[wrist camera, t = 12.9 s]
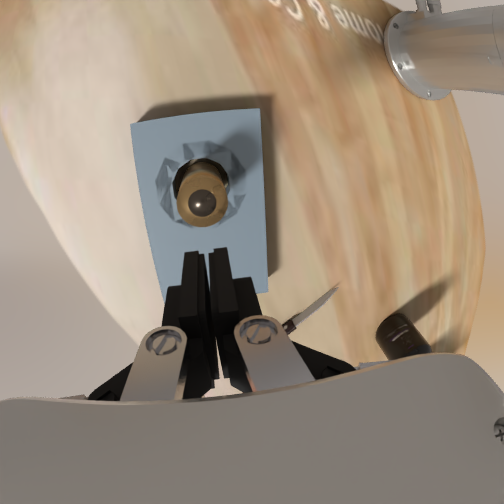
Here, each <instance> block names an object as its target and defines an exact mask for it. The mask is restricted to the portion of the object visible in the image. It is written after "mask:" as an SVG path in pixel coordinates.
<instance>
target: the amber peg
mask: <svg viewBox="0 0 504 504" xmlns="http://www.w3.org/2000/svg"><path fill="white" fill-rule="evenodd" d="M176 204H177V210H178V213H179V215H180V216H181V218H182V219H183V220H184V221H185V222H187V223H188V224H190V225H192V226H195V227H209V226H212V225H214V224H216V223H217V222H219V221H220V220H221V219H222V218H223V216H224V215H225V213H226V211H227V207H228V197H227V193H226V190H225V187H224V184H223V181H222V178H221V175H220V173H219V171H218V169H217V168H216V167H215V166H213V165H212V164H209V163H206V162H199V163H195V164H193V165H191V166H190V167H189V168H188V169H187V170H186V171H185V173H184V176H183V179H182V182H181V186H180V189H179V192H178V196H177V202H176Z"/></svg>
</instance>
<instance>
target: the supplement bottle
mask: <svg viewBox="0 0 504 504" xmlns="http://www.w3.org/2000/svg"><path fill="white" fill-rule="evenodd" d="M376 341H377V343H378V344H379V346H380V348H381V349H382V351H383V352H384V354H385V355H386V357H387V358H388V360H397V359H400V358H404V357H409V356H413V355H419V354H427V353H432V350H431V346H430V345H429V344H428V342H427V341H426V340H425V338H424V337H423V336H422V335H421V334H420V332H419V331H418V330H417V329H416V327H415V326H414V325H413V324H412V322H411V321H410V320H409V319H408V318H407V317H406V316H405V315H403V314H396V315H393V316H391V317H389V318H387V319H386V320H385V321H384V322H383V323H382V324H381V325H380V326H379V328H378V330H377V332H376Z"/></svg>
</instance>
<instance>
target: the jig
mask: <svg viewBox="0 0 504 504" xmlns="http://www.w3.org/2000/svg"><path fill="white" fill-rule="evenodd" d="M130 127H131V136H132V144H133V152H134V159H135V166H136V173H137V179H138V185H139V191H140V197H141V202H142V208H143V213H144V218H145V223H146V228H147V233H148V238H149V242H150V247H151V251H152V256H153V260H154V264H155V268H156V272H157V277H158V280H159V284H160V288H161V292H162V296H163V300H164V303H165V300H166V294H167V288H168V287H169V286H176V285H181V279H182V269H183V260H184V253H185V252H190V251H199V254H204V255H205V262H206V268H207V275H208V281H209V287H210V278H209V257H208V253H212V252H214V250H213V249H215V248H223V247H227V250H228V255H229V261H230V267H231V272H232V278H233V279H235V278H243V277H251V278H252V281H253V284H254V288H255V291H256V294H258V293H265V292H268V272H267V245H266V221H265V198H264V177H263V157H262V138H261V119H260V108H255V109H238V110H224V111H213V112H204V113H195V114H187V115H180V116H173V117H166V118H160V119H154V120H148V121H143V122H138V123H133V124H130ZM199 158H208V159H210V160H213V161H215V162H217V163H220V164H221V166H222V167H223V168H224V170H225V171H226V172H227V180H228V185H227V187H226V189H225V190H226V193H227V197H228V207H227V211H226V213H225V215H224V216H223V218H222V219H221V220H220V221H219V222H217V223H216V224H214V225H212V226H209V227H195V226H192V225H190V224H188V223H187V222H185V221H184V220H183V219H182V218H181V216H180V215H179V213H178V210H177V204H176V202H177V196H178V192H177V191H176V185H175V175H176V173H177V171H178V169H179V168H180V167H181V166H183V165H184V164H185V163H187V162H188V161H189V160H191V159H199Z"/></svg>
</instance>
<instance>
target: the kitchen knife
mask: <svg viewBox="0 0 504 504" xmlns="http://www.w3.org/2000/svg"><path fill="white" fill-rule="evenodd" d="M337 289H338V287H337V288H334V289H332V290H331V291H329V292H327V293H326V294H324V295H323V296H322V297H320V298H319V299H318V300H317V301H315V302H314V303H313V304H312V305H310V306H309V307H308V308H307V309H305V310H304V311H303V312H301V313H300V314H299V315H298V316H296V317H295V318H293V319H292V320H290V321H289V322H287V323H286V324H284V325H282V327H283V328H284V330H285V332H286V333H287V335H288V334H290V333H291V332H292V331H294V330H295V329H296V326H297V325H299V324H300V323H301V322H303V321H304V320H305V319H306V318H308V317H309V316H310V315H312V314H313V313H314V312H315V311H317V310H318V309H319V308H320V307H322V306H323V305H324V304H325V303H326V302H327V301H328V299H329V298H330V297H331V296H332V295H333V294H334V293H335V291H336V290H337Z"/></svg>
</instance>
